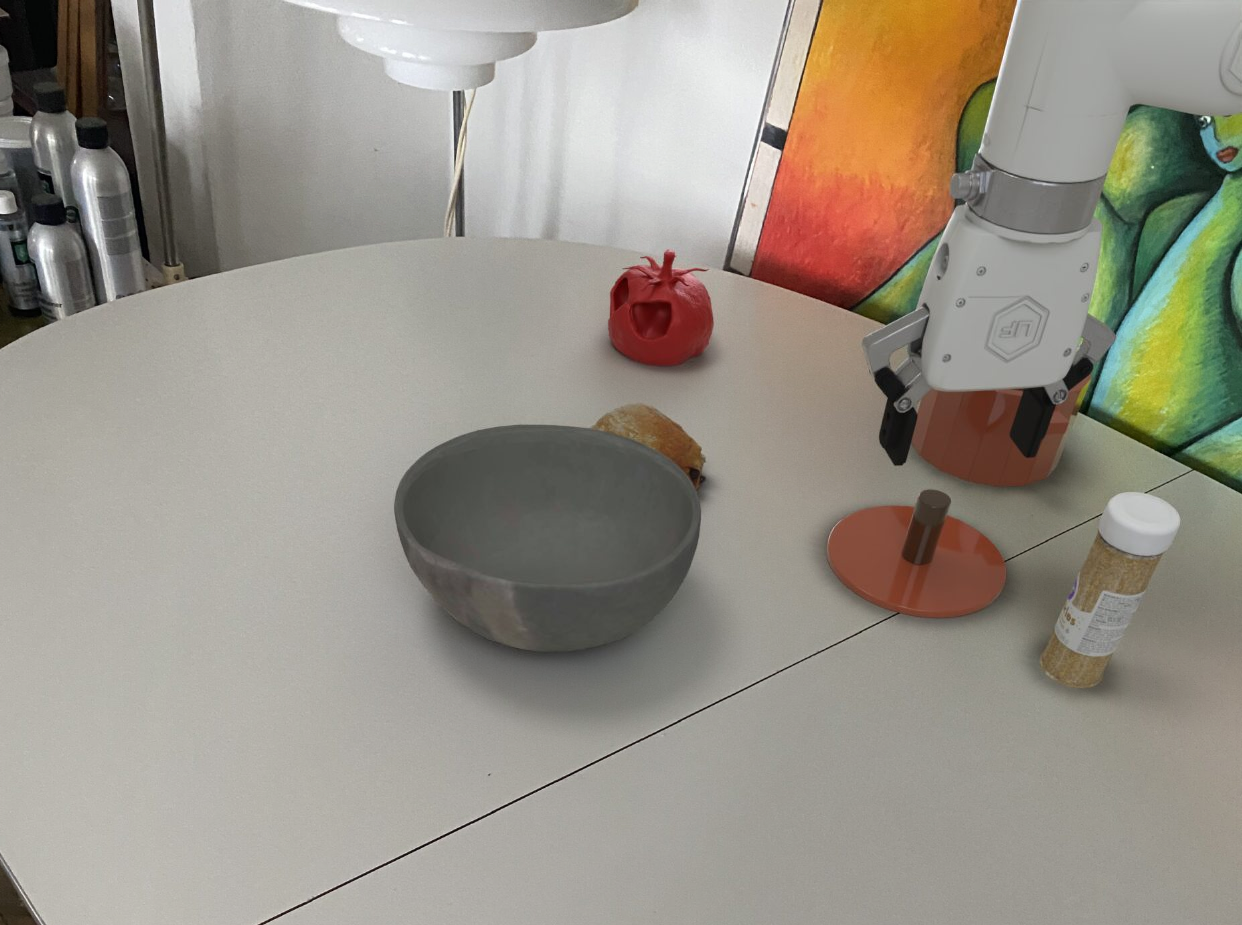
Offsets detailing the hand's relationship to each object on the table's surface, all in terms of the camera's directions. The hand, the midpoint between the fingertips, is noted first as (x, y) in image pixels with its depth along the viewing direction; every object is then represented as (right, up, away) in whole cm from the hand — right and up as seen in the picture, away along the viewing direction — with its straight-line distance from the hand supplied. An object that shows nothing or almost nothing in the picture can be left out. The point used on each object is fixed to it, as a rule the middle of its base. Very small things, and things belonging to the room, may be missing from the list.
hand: (957, 451), depth 85 cm
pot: (+8, +7, +20) cm, 22 cm away
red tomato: (-20, +19, +28) cm, 39 cm away
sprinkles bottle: (+8, -16, 0) cm, 18 cm away
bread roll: (-22, +1, +13) cm, 26 cm away
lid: (-1, -6, +7) cm, 9 cm away
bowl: (-29, -11, +1) cm, 31 cm away
